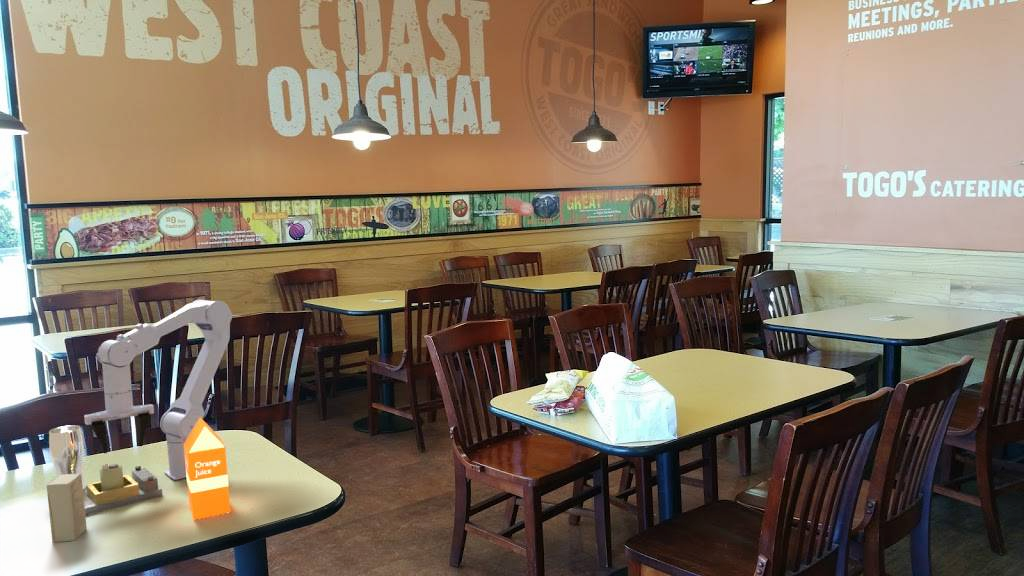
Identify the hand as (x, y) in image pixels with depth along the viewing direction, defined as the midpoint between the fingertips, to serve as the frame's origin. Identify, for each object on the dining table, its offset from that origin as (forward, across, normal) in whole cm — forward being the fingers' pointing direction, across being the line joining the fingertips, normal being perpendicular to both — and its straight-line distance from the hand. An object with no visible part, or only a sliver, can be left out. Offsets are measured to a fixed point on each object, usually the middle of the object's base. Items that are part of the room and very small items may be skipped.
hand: (122, 448), depth 187 cm
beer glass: (+11, -9, +11) cm, 18 cm away
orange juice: (+10, +11, -26) cm, 30 cm away
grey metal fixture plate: (+10, -3, -3) cm, 11 cm away
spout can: (+9, -3, -3) cm, 10 cm away
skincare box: (+11, -15, -19) cm, 27 cm away
